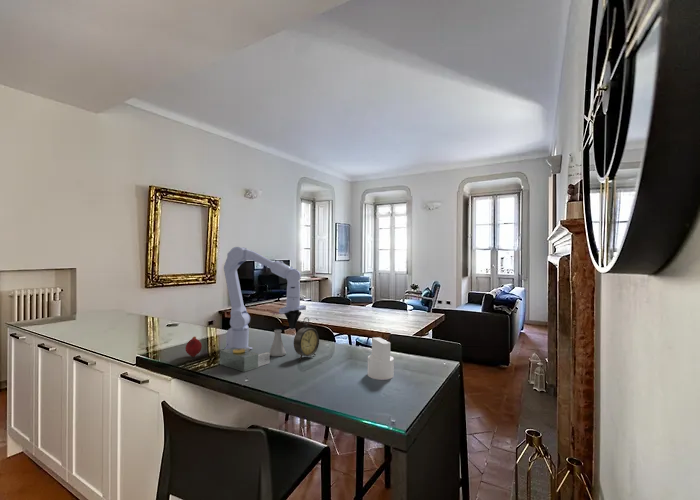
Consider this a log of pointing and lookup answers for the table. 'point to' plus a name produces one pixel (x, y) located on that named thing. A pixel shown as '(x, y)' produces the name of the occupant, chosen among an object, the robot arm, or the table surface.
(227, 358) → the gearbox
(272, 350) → the flask
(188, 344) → the onion
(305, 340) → the alarm clock
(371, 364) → the base with upright slab
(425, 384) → the table surface
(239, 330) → the robot arm
